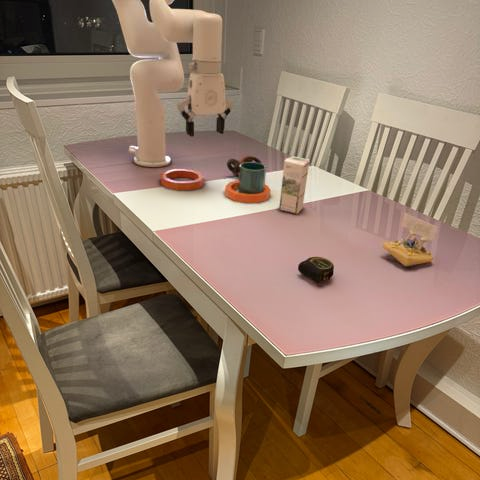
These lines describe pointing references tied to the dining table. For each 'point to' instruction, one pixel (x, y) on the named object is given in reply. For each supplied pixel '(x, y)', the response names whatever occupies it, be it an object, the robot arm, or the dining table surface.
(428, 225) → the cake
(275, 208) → the dining table surface
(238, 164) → the broken clay pot
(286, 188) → the syrup box
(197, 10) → the robot arm
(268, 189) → the orange ring
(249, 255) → the dining table surface
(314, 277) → the tape measure
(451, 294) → the dining table surface
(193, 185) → the orange ring
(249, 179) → the tumbler
